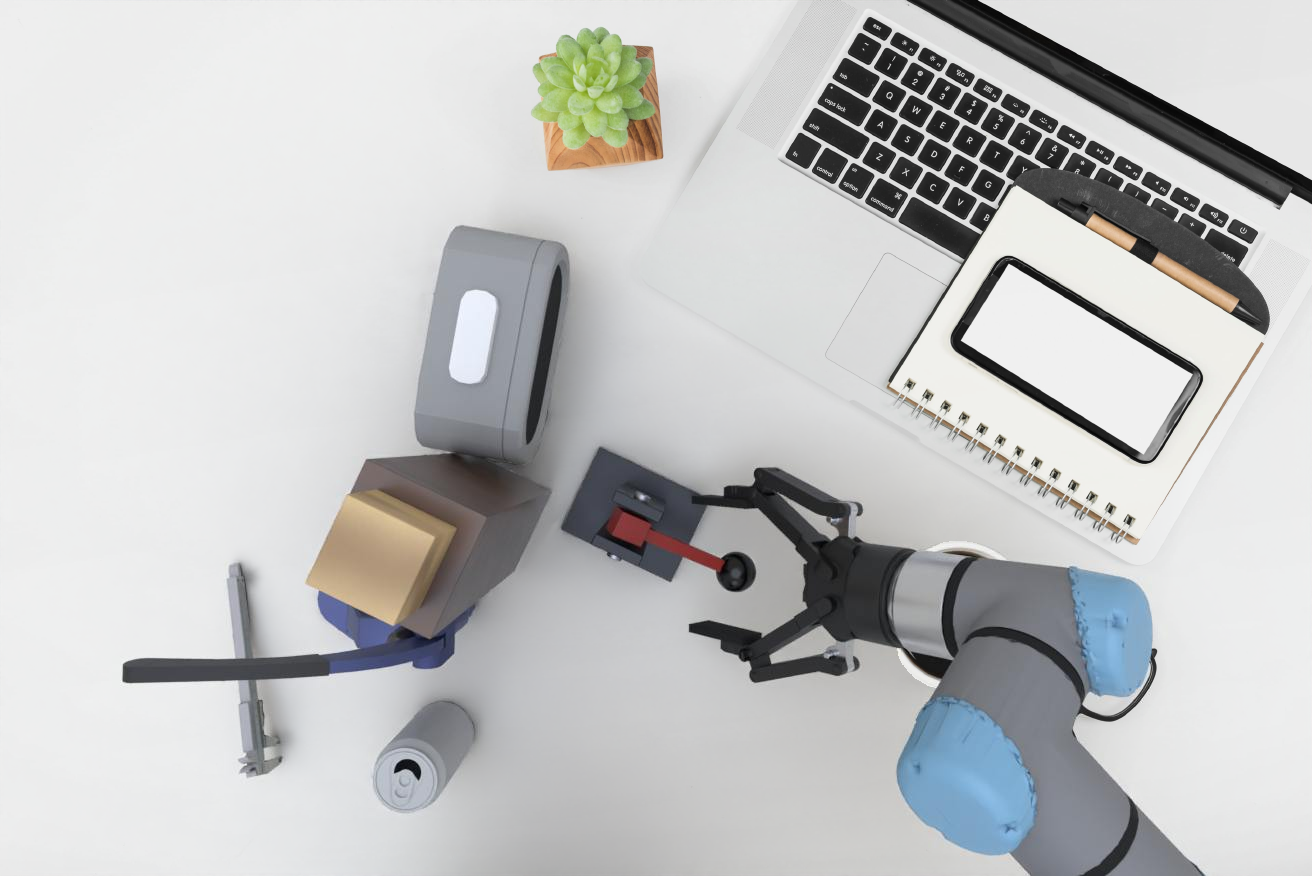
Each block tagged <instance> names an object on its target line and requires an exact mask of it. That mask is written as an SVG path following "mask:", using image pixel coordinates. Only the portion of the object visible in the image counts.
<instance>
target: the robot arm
mask: <svg viewBox="0 0 1312 876" xmlns="http://www.w3.org/2000/svg"><path fill="white" fill-rule="evenodd" d="M752 475H753V478H754V482H753V484H752V485H742V484H732V485H730V484H729V485H726V486H723V495H718V494H701V495H695V496H692V504H699V505H707V506H708V507H709V506H710V507H720V508H730V509H739V510H740V509H741V510H754V509H757V510H759V512H761V513H762V514H763V515H764V516H765V517H766V518H767V519H768V520H769V521H770V522H771V523H772V524H773V525H774V526H775V527H776V529H778V530H779V531H780V533H782V534H783V535H784V536H785V537H786V538H787V539H788V540H789V541H790V542H791V544H793V546H795V548H794V550H795V551H796V553H798V555H800V556H801V557H802V559H803V560H805V562H806V563H804V564H803V565H802V566H803V567H802V568H803V569H802V570H803V571H802V573H803V574H802V575H803V580H804V586H803V591H802V602H803V603H805V606H806V608H805V609H803V610H802V611H800V612H798V613H797V614H795V615H794V616H793V618H790V620H788V621H786V622H784V623H783V624H781V625H779V626H778V627H776V628H775V629H773V630H771V631H770V632H768V633H766V634H765V635H764V636H763V632H759V631H757V630H752V629H747V628H743V627H739V626H735V625H731V624H727V623H722V622H718V621H714V620H711V619H706V620H702V621H696V622H691V623H688V633H691V634H694V635H698V636H702V637H706V638H709V639H714V640H717V641H720V642H719V643H720V644H719V645H720V647H719V648H720V650H722V651H723V652H724V653H726V654H727V653H728V654H731V655H735V656H738V659H739V661H741V662H742V663H746V662H749V665H750V670H749V672H748V677H749V680H750V681H751V682H752V683H754V684H757V683H763V682H764V683H765V682H770V681H774V680H780V679H786V678H792V677H798V676H803V675H807V674H813V673H818V672H819V673H822V674H826V675H830V676H834V677H841V676H843V675H846V674H847V675H848V674H850V673H853V672H856V671H858V670H859V669H860V666H861V663H860V661H859V658H858V657H857V656H855V655H854V640H860V641H863V642H868V643H873V644H877V645H881V646H886V647H891V648H894V649H895V648H896V649H906V650H907V651H908V652H911V653H917V654H921V655H926V656H931V657H936V658H940V659H946V660H950V661H951V663H950V664H949V666H948V668H947V670H946V671H945V673H944V675H943V676H942V677H941V679H940V681H939V683H938V685H937V686H936V688H935V690H934V691H933V692H932V694H931V697H930V698H929V699H928V701H926V702H925V703H924V705H923V707H922V708H921V709H919V711H918V713H917V716H916V718H915V724H914V725H913V728H912V730H911V732H910V734H909V736H908V738H907V741H906V743H905V745H904V747H903V749H902V752H901V754H900V756H899V757H898V760H897V763H896V764H897V765H896V771H895V772H896V782H897V785H898V788H899V791H900V793H901V796H902V798H903V799H904V801H905V802H906V804H907V806H908V807H909V808H910V809H911V811H912V812H913V813H914V814H915V815H916V817H917V818H918V819H919V820H920V821H921V822H923V824H925V825H926V826H928V827H930V828H934V829H935V830H937V831H938V832H939V833H941V835H942V836H943V838H944V839H945V840H946V841H948V842H950V843H951V844H953V845H955V846H957V847H960V848H962V849H964V850H967V851H969V852H972V853H974V854H979V855H983V856H990V857H991V856H996V857H997V856H1004V855H1007V854H1010V856H1011V857H1013V859H1014V860H1015V861H1016V862H1017V863H1018V864H1019V865H1020V866H1021V867H1022V869H1024V871H1025V872H1026V873H1027V874H1028V875H1029V876H1207V875H1206V874H1205V873H1204V872H1203V871H1202V869H1200V868H1199V866H1198V865H1197V864H1196V863H1194V862H1193V861H1192V860H1190V859H1189V858H1188V857H1187V856H1185V855H1184V854H1183V852H1181V850H1180V849H1179V848H1178V847H1177V846H1176V845H1175V844H1174V843H1173V842H1172V841H1171V840H1170V839H1169V838H1168V837H1167V835H1166V834H1164V832H1162V830H1161V829H1160V828H1159V827H1158V826H1157V825H1156V824H1155V823H1154V822H1153V821H1152V820H1151V818H1149V817H1148V816H1147V815H1146V814H1145V812H1143V810H1142V809H1140V807H1139V805H1137V804H1136V803H1135V802H1134V801H1133V799H1132V798H1131V797H1130V796H1129V794H1128V793H1127V792H1126V791H1124V789H1123V788H1122V787H1121V786H1120V785H1119V784H1118V782H1116V780H1115V779H1114V778H1113V777H1112V775H1110V773H1108V772H1107V770H1106V769H1105V768H1104V767H1103V766H1102V765H1101V764H1100V763H1099V762H1098V760H1097V759H1096V758H1094V756H1093V755H1092V754H1091V753H1090V751H1088V750H1087V749H1086V747H1085V746H1084V745H1083V744H1082V743H1081V742H1080V741H1079V740H1078V739H1077V738H1076V737H1075V735H1074V734H1073V729H1074V726H1075V723H1076V720H1077V716H1078V714H1079V713H1080V711H1081V708H1082V706H1083V704H1084V701H1085V699H1086V697H1087V695H1088V694H1089V693H1092V694H1094V696H1098V697H1099V698H1100V697H1103V696H1110V697H1116V698H1127V697H1130V696H1132V695H1133V694H1134V693H1136V691H1137V690H1138V689H1139V688H1140V687H1142V686H1143V683H1144V681H1145V679H1146V676H1147V673H1148V670H1149V666H1150V663H1151V662H1150V661H1151V657H1152V649H1153V639H1154V638H1153V635H1154V634H1153V632H1154V631H1153V630H1154V629H1153V617H1152V611H1151V606H1150V602H1149V599H1148V596H1147V594H1146V593H1145V592H1144V590H1143V588H1142V587H1141V586H1140V584H1137V582H1135V581H1134V580H1132V579H1130V578H1127V577H1123V576H1119V575H1114V574H1108V573H1103V572H1099V571H1098V572H1097V571H1092V570H1087V569H1083V568H1078V567H1077V566H1075V565H1070V566H1069V567H1067V566H1066V567H1065V566H1056V565H1049V564H1041V563H1040V564H1039V563H1033V562H1032V563H1031V562H1022V561H1013V560H1005V559H995V558H987V557H978V556H969V555H962V554H961V555H960V554H953V553H946V552H939V551H932V550H923V549H920V550H918V551H917V550H915V549H914V548H909V547H902V546H896V545H895V546H894V545H887V544H878V543H870V542H867V541H864V540H863V539H861V538H860V537H859V536H857V534H856V533H857V517H861V516H862V515H863V513H864V507H863V504H861V502H858V501H852V500H843V499H841V500H840V499H838V498H836V497H834V496H832V495H830V494H829V493H826V491H823V490H821V489H820V488H817V487H816V486H814V485H811V484H810V483H809V482H806V481H805V480H802V479H800V478H799V477H797V476H795V475H793V474H791V473H789V472H787V471H785V470H784V469H781V468H779V467H778V466H775V467H774V466H773V467H762V466H761V467H756V468H755V469H754V471H753V474H752ZM784 497H785V498H787V499H789V500H790V501H792V502H794V503H795V504H797V505H799V506H801V507H802V508H804V509H807V510H808V511H810V512H812V513H814V514H816V515H818V516H821V517H825V521H826V523H827V524H829V525H830V526H831V527H834V528H835V529H836V530H837V532H838V536H835V537H834V538H833V539H831V538H829V536H827V535H825V534H823V533H821V532H819V531H818V530H817V529H816V528H815V527H814V525H812V524H811V523H810V522H809V521H808V520H806V518H805V517H803V515H801V513H799V511H797V510H796V509H795V508H794V507H793V506H792V504H790V503H789V502H788V501H787V500H786V499H785V498H784ZM819 627H822V628H824V629H825V631H826V632H827V633H828V634H829V635H830V636H831V638H833V640H835V641H836V642H835V644H834V645H831V646H827V648H826V649H825V651H823V653H819V654H818V653H817V654H814V655H813V654H812V655H809V656H803V657H799V658H793V659H789V660H784V661H779V662H774V663H773V662H772V659H771V656H772V655H774V653H776V652H778V651H780V650H781V649H783V648H785V647H786V646H788V645H790V644H792V643H793V642H796V641H797V640H799V639H800V638H802V637H803V636H806V635H807V634H809V633H811V632H812V631H814V630H816V629H817V628H819Z"/></svg>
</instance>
